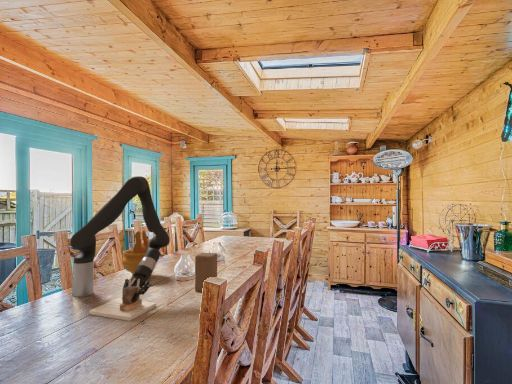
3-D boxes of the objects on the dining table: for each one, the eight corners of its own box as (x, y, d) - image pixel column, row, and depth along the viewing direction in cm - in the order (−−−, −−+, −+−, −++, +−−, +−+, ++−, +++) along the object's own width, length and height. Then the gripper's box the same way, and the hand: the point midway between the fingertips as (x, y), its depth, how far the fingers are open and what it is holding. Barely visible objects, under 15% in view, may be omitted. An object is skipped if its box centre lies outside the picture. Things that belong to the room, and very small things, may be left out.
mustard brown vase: (138, 272, 209) (138, 228, 210) (163, 275, 202) (164, 229, 202) (114, 280, 190) (114, 231, 190) (140, 283, 182) (141, 233, 182)
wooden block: (211, 293, 165) (211, 256, 165) (194, 292, 167) (194, 255, 167) (217, 287, 175) (217, 252, 175) (201, 286, 177) (201, 252, 177)
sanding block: (119, 310, 136) (119, 289, 136) (133, 303, 145) (133, 284, 145) (128, 311, 135) (128, 290, 135) (141, 304, 143) (141, 285, 143)
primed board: (89, 314, 136) (89, 310, 136) (118, 300, 153) (118, 297, 153) (129, 320, 129) (129, 317, 129) (156, 306, 146) (156, 302, 146)
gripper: (129, 263, 149) (110, 295, 137) (154, 265, 145) (137, 299, 133) (137, 271, 154) (119, 303, 143) (161, 273, 150) (145, 307, 138)
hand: (128, 301), depth 138 cm, fingers closed on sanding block, 4 cm apart
